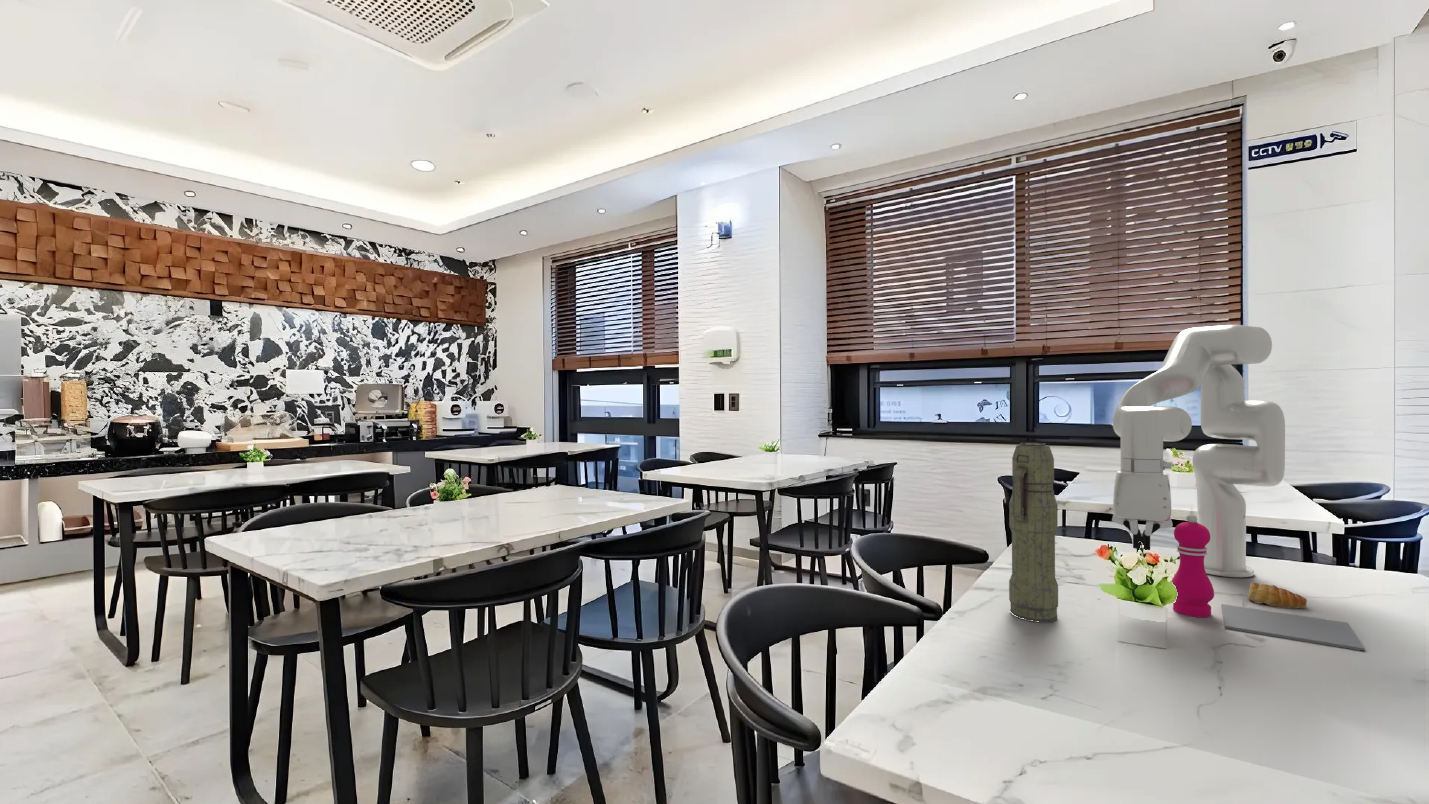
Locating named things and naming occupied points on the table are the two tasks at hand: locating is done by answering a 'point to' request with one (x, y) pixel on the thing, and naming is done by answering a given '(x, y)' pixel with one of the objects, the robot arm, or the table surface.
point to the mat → (1291, 627)
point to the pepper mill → (1192, 570)
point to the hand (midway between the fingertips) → (1141, 552)
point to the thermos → (1033, 534)
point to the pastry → (1275, 596)
